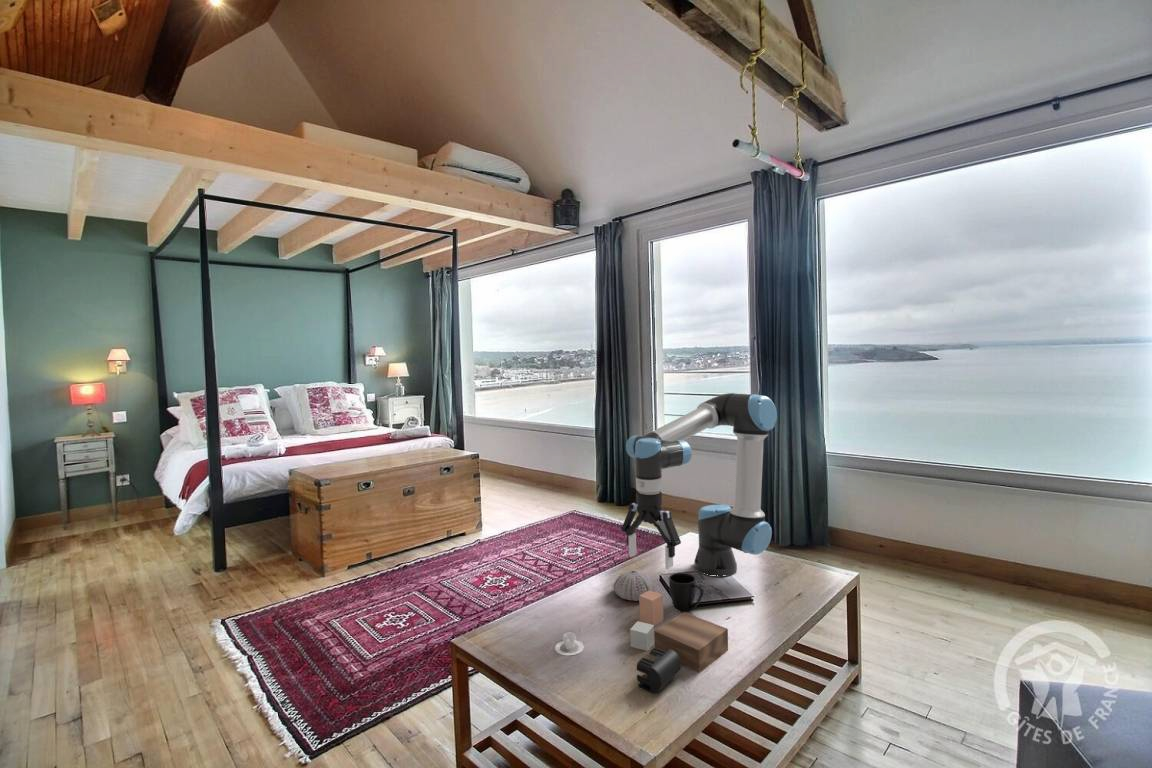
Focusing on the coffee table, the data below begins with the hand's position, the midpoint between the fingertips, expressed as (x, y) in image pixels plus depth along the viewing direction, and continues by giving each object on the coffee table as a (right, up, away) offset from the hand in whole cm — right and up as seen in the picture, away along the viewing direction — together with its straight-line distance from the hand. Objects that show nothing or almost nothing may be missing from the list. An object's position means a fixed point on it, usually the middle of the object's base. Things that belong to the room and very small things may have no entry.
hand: (650, 561), depth 165 cm
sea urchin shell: (-3, -18, +19) cm, 26 cm away
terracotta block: (+1, -18, +1) cm, 19 cm away
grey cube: (-4, -20, -11) cm, 23 cm away
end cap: (-2, -21, -29) cm, 36 cm away
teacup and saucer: (-21, -21, -10) cm, 31 cm away
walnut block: (+9, -19, -16) cm, 26 cm away
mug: (+13, -18, +8) cm, 23 cm away
